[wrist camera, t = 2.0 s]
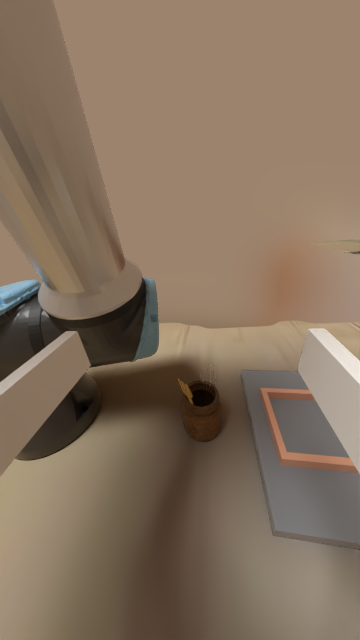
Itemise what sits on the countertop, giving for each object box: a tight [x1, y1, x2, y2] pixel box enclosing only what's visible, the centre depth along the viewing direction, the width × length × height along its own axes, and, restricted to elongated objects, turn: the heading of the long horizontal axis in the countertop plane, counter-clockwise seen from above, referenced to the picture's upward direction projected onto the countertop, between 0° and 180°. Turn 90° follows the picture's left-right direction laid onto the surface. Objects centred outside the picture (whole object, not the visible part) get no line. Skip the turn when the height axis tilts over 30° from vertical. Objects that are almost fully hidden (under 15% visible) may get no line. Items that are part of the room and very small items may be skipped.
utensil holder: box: [178, 363, 222, 442], centre depth 27 cm, size 6×6×12 cm
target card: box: [241, 370, 360, 550], centre depth 26 cm, size 15×22×3 cm
